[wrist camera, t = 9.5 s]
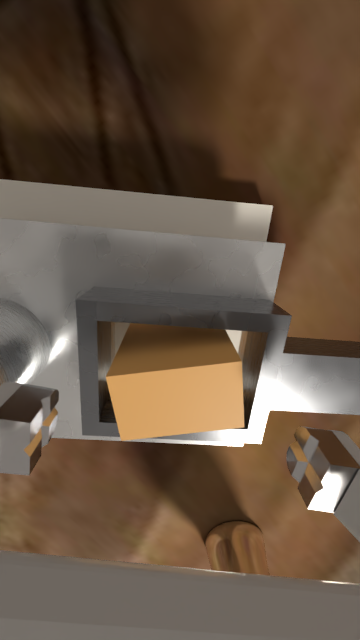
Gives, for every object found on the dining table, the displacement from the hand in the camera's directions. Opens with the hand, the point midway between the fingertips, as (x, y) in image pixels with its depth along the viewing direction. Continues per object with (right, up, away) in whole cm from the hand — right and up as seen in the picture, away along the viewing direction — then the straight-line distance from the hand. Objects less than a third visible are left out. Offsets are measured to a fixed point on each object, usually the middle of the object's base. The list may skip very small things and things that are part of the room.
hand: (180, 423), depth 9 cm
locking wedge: (0, +3, +9) cm, 9 cm away
